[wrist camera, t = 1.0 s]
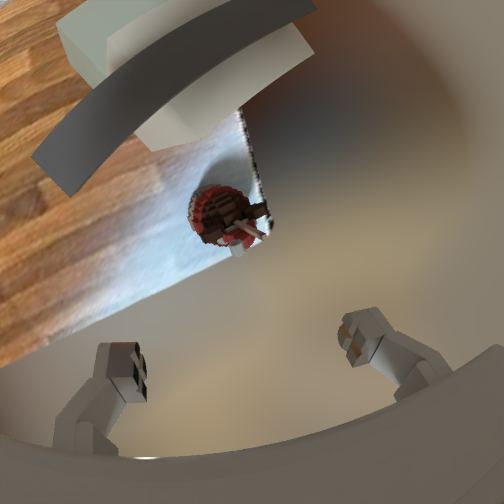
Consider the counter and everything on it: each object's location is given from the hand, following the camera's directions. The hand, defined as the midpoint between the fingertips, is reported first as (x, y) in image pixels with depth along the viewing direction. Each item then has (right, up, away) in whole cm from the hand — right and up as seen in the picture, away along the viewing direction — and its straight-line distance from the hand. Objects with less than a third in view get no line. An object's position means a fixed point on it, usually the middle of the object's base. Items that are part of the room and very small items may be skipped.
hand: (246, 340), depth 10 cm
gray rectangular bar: (-5, +17, +6) cm, 18 cm away
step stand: (-17, +31, +25) cm, 43 cm away
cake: (-7, +11, +39) cm, 41 cm away
